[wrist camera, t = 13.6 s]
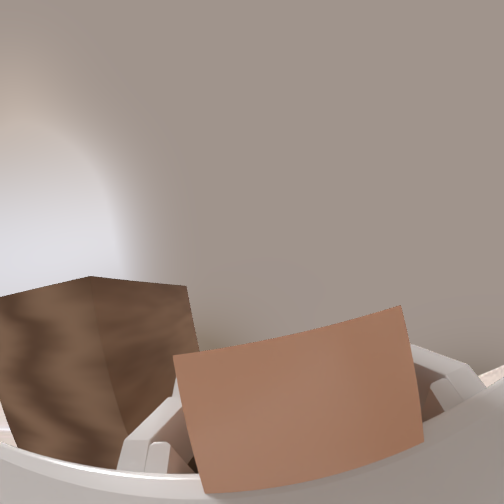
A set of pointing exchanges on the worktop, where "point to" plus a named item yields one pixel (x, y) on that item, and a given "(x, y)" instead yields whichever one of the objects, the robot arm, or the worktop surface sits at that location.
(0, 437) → the worktop surface
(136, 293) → the stand
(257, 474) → the peach rectangular bar
